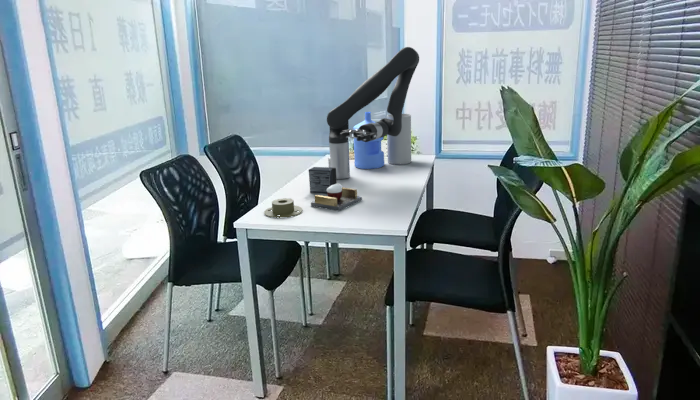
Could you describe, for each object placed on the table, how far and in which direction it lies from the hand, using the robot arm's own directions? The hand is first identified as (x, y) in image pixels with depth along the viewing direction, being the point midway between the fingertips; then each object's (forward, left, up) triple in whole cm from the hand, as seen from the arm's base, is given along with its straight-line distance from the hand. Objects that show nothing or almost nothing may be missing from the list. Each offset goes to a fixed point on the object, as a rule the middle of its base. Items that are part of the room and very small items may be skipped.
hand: (349, 137), depth 220 cm
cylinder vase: (-14, +65, -25) cm, 71 cm away
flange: (-12, -30, -26) cm, 41 cm away
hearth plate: (0, -11, -25) cm, 28 cm away
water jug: (-24, +51, -25) cm, 62 cm away
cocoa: (0, -11, -24) cm, 26 cm away
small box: (-16, +1, -26) cm, 30 cm away
